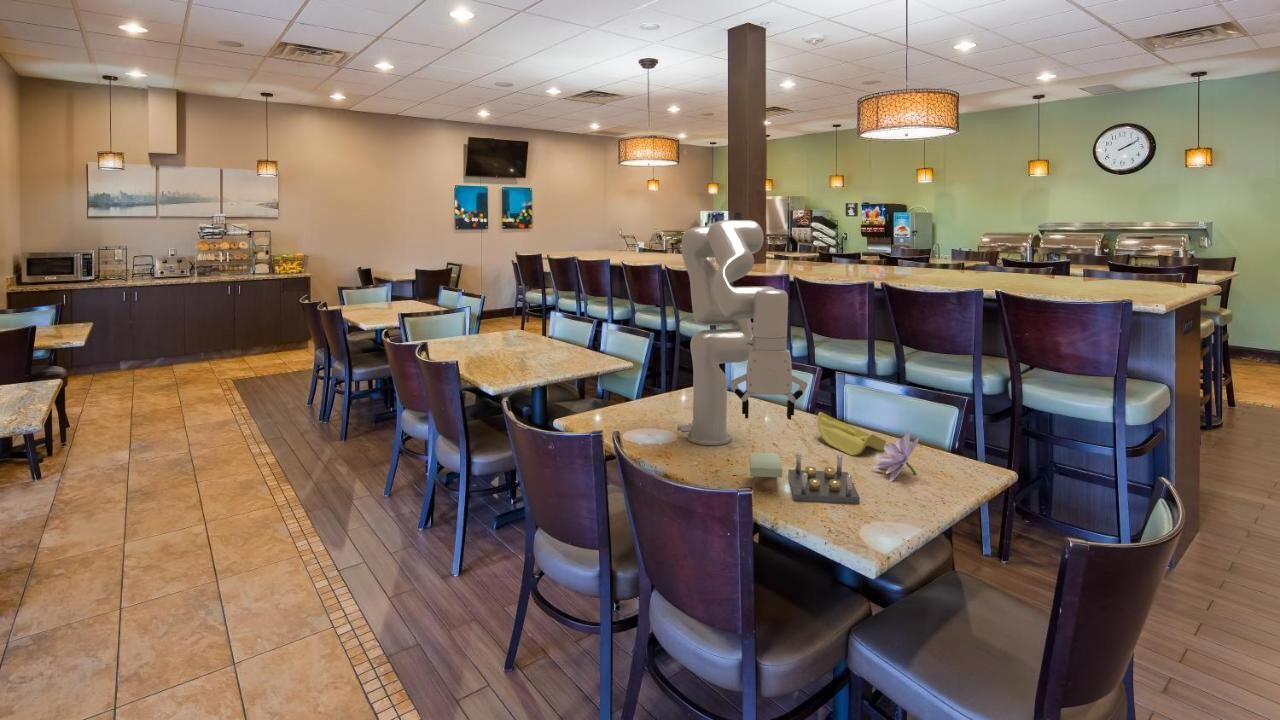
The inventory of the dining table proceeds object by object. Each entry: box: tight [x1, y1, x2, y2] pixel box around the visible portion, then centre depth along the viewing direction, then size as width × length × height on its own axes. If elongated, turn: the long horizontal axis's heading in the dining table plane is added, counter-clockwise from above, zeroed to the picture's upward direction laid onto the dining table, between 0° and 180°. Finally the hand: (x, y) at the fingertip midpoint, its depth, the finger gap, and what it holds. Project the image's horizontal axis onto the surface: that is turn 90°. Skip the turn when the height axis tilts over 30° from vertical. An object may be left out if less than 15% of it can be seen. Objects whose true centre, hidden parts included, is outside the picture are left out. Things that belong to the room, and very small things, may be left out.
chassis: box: [787, 452, 861, 505], centre depth 158 cm, size 14×16×6 cm
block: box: [752, 476, 778, 493], centre depth 161 cm, size 5×8×4 cm, turn 173°
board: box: [748, 452, 783, 478], centre depth 160 cm, size 7×11×2 cm, turn 173°
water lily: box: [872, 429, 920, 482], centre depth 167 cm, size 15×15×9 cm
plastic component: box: [817, 411, 887, 456], centre depth 191 cm, size 20×7×10 cm
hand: (767, 417), depth 157 cm, fingers open, 9 cm apart
